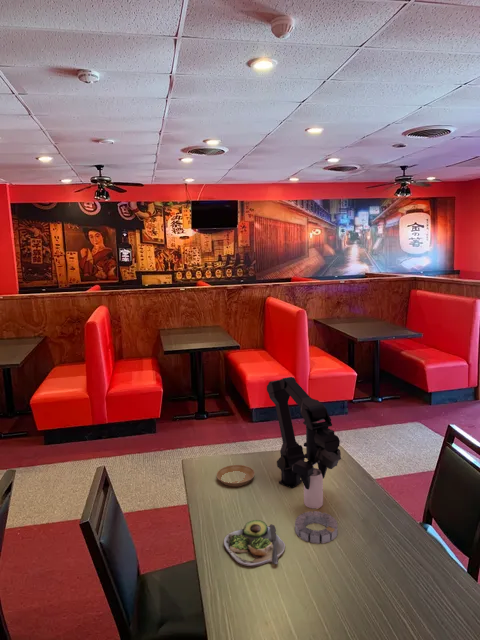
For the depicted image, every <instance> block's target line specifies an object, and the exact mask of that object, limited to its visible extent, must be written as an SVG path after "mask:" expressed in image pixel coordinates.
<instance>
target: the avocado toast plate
mask: <svg viewBox="0 0 480 640" xmlns="http://www.w3.org/2000/svg"><path fill="white" fill-rule="evenodd" d="M276 529H277V528H276V527H275V525H274V524H269V525H267V523H266V522H264V521H263V520H260V519H253V520H250V521H247V522H246V523H245V525H244V526H243V528H242V529H238V530H234V531H232V532H229V533H227V535H225V536H224V538H223V546H224V549H225V551H227V553H228V554H229V555H230V556H231V558H232V559H234V560H235V561H236V562H237V563H238V564H240V565H243V566H245V567H246V566H247V567H259V566H263V565H265V564H268V563H271V564H273V565H277V564H279V557H280V556H281V555H283V554H284V552H285V549H286V544H285V542H284V540H282V539H281V538H280V536H279V535H278V534H277V533H276V531H277V530H276ZM246 553H247V554H248V553H249V554H251V555H252V556H253V557H254V558H255V559H253V560H246V559H243V558H241V557H240V556H239V555H238V554H246Z"/></svg>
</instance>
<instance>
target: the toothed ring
mask: <svg viewBox="0 0 480 640" xmlns="http://www.w3.org/2000/svg"><path fill="white" fill-rule="evenodd" d="M322 512H323V511H318V510H317V511H315V510H313V511H312V510H311V511H306V512H303V513H300V514H298V516H297V517H296V518H295V521H294V532H295V534H296V535H297V537H298V538H300V540H302V541H305V542H307V543H309V542H310V544H317V545H318V544H319V545H320V544H325V543H326V544H327V543H330V542H331V541H333V540H334V539H336V538H337V537H338V520H337V519H335V517H333V516H332V515H331V514H330V513H329V514H328V513H327V512H323V513H322ZM313 524H319V525H322V526H324V527H325V528H324V529H319V530H318V529H317V530H316V529H311V528H309V527H308V525H313Z"/></svg>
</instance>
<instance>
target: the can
mask: <svg viewBox="0 0 480 640" xmlns="http://www.w3.org/2000/svg"><path fill="white" fill-rule="evenodd" d="M313 473H314V474H313V475H311V477H310V487H309V489H306V488H305V486H304V485H303V503H304V506H305V507H306V508H309V509H311V510H317V509H320V508H322V506H323V505H324V479H323V476H322V474H321V470H319V468H316V467H314V471H313Z"/></svg>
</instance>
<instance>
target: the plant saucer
mask: <svg viewBox="0 0 480 640" xmlns="http://www.w3.org/2000/svg"><path fill="white" fill-rule="evenodd" d="M233 471H240V472H243V473H245V474H246V475H245V478H243V479H244V480H242V481H240V482H239V483H237V482H238V481H235V482H232V483H230V482H229V483H228V482H224V481H222V480H221V477H222V475H224V474H225V473H228V472H233ZM255 474H256V473H255V470H254V469H253V468H252V467H250V466H247V465H242V464H232V465H227V466H224V467H221V468H220V469H219V470H217V473H216V478H217V479H218V481H220V482H221V483H222V484H224V485H226V486H228V487H241V486H245V485H246V484H248V483H250V482H251V481H252V479H253V478H254V477H255Z"/></svg>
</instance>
